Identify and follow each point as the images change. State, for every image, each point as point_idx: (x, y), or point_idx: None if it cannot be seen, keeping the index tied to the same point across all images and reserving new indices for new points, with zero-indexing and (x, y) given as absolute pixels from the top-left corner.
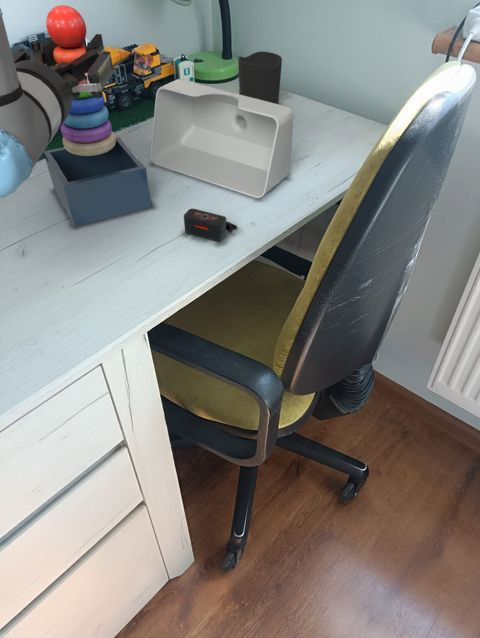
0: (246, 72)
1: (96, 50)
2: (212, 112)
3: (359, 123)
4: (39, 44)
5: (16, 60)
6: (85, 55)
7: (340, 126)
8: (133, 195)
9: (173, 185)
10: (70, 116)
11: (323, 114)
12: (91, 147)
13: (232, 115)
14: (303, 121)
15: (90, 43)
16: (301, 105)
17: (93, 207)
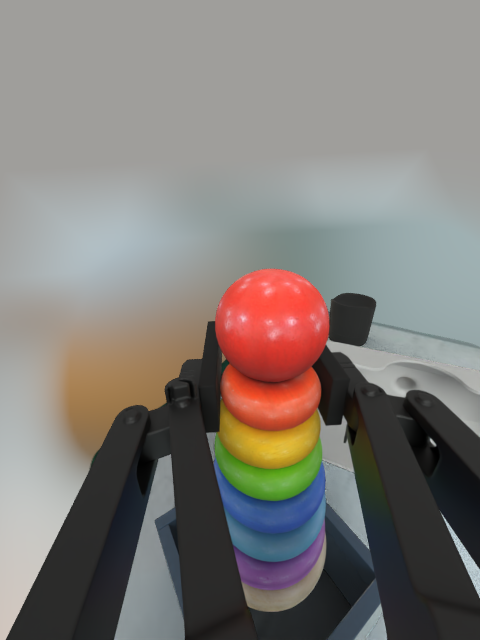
0: (347, 313)
1: (379, 388)
2: (360, 371)
3: (461, 350)
4: (194, 388)
5: (103, 546)
6: (380, 429)
7: (449, 356)
8: (362, 637)
9: (361, 512)
10: (254, 538)
11: (414, 342)
12: (298, 594)
13: (395, 376)
14: (406, 353)
15: (322, 353)
16: (382, 333)
17: None
